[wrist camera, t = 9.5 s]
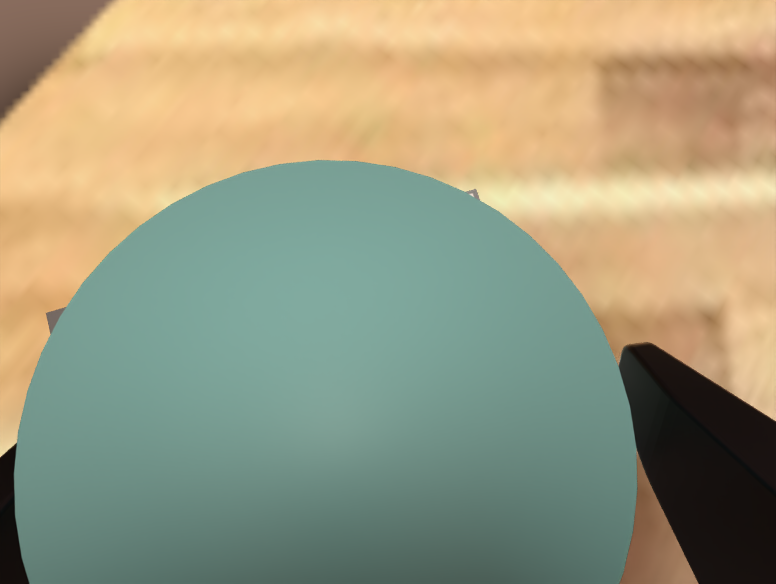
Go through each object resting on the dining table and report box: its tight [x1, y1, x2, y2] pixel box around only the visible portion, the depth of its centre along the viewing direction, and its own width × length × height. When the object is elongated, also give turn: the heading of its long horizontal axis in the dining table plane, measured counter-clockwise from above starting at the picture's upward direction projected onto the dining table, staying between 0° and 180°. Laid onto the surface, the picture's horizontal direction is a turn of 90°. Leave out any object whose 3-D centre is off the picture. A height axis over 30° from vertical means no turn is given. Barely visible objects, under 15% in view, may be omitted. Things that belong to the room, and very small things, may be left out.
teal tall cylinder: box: [14, 160, 637, 584], centre depth 11 cm, size 5×5×13 cm
